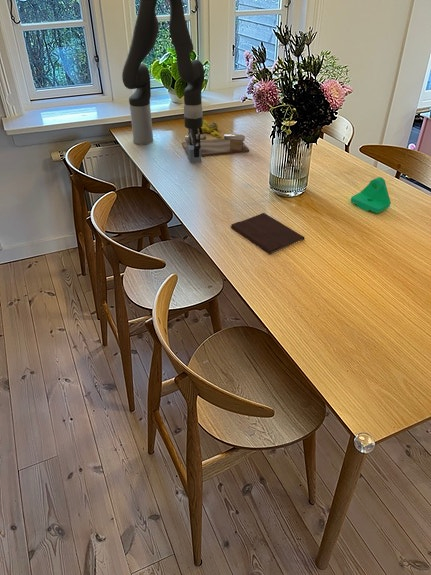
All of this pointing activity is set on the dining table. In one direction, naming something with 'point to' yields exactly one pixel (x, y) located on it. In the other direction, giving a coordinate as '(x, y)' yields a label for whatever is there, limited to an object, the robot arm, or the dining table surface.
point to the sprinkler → (209, 129)
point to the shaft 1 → (202, 137)
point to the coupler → (191, 154)
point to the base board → (219, 146)
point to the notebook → (267, 233)
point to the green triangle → (373, 196)
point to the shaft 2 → (228, 136)
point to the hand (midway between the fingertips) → (194, 153)
